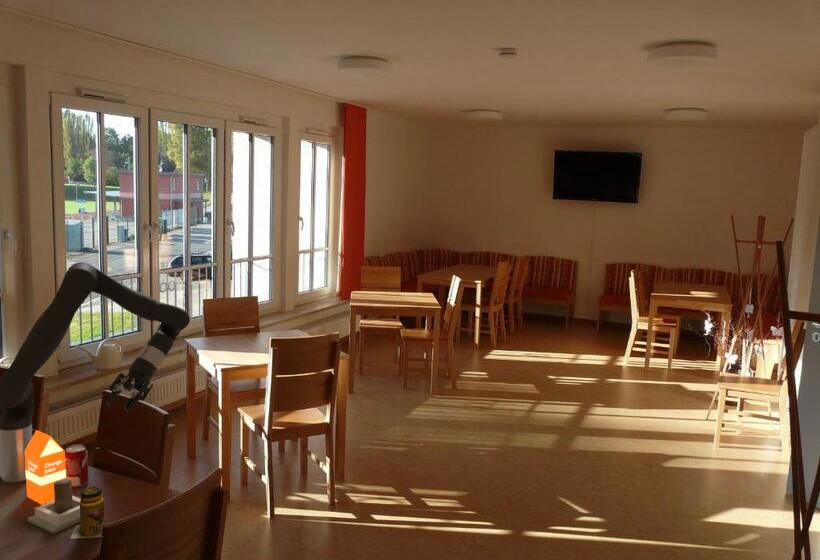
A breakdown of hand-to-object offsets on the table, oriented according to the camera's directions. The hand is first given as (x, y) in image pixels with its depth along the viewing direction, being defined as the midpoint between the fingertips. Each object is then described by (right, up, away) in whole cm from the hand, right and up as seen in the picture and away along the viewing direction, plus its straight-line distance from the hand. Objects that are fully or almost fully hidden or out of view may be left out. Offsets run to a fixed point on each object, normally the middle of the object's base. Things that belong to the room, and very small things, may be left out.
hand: (117, 407), depth 214 cm
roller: (-9, -28, -14) cm, 32 cm away
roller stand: (-9, -29, -14) cm, 33 cm away
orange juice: (-21, -27, -1) cm, 34 cm away
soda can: (-15, -26, +7) cm, 31 cm away
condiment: (+1, -31, -21) cm, 37 cm away
